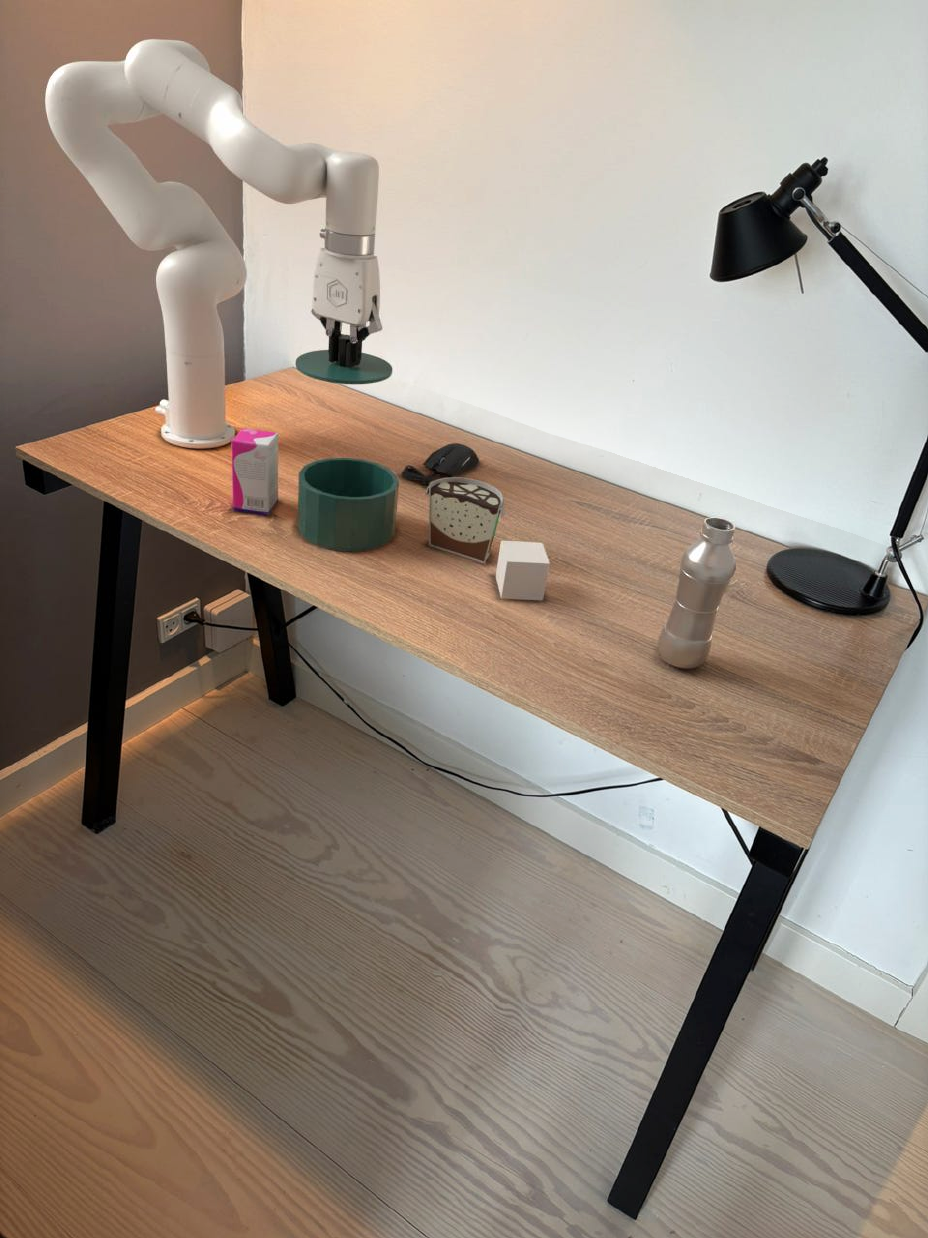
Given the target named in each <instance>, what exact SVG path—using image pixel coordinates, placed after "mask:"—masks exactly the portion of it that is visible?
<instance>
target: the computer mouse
mask: <svg viewBox="0 0 928 1238" xmlns="http://www.w3.org/2000/svg"><path fill="white" fill-rule="evenodd" d="M479 463H480V458H479V456H478V454H477V453H476V452H475V450H473V449H472V448H471V447H469V446H468V445H465V444H463V443H458V442H453V443H448V444H446V445H444V446H441V447H440V448H438V449H436V450H434V451H433V452H432V453H431V454H430V455H429V456H428V457H427V458H426V459H425V461H424V462H423V466H424V467H425V468H426V469H427V470H429V471H430V472H431V474H430V475H429V474H428V475H426V474H425V473H423V472H422V471H420V470H419V469H417V468H416V467H414V466H412V465H406V466H405V467H404V468H403V470H402V471H401V477H403V479H405V480H408V481H412V482H416V483H423V484H424V485H425V486H426V487H428V486H429V484H430V483H431V482H432V481H435V480H438V478H436V476H442V477H444V478H450V477H457V475H460V474H461V473H464V472H468V471H471V470H473V469H474V468H476V467H477V466H478V465H479Z"/></svg>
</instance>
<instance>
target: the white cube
mask: <svg viewBox="0 0 928 1238" xmlns="http://www.w3.org/2000/svg"><path fill="white" fill-rule="evenodd" d="M498 552H499V553H498V559H497V565H496V570H495V571H496V572H495V580H496V584H497V588H498V592H499V595H500V599H501V600H522V601H523V600H524V601H544V596H545V592H546V585H547V581H548V575H549V569H550V564H551V563H550V560H549V558H548V555H547V552H546V549H545V547H544V544H543V542H538V541H537V542H536V541H535V542H534V541H520V540H519V541H516V540H500V546H499V551H498Z"/></svg>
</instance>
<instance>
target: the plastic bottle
mask: <svg viewBox="0 0 928 1238" xmlns="http://www.w3.org/2000/svg"><path fill="white" fill-rule="evenodd" d="M735 530H736V525H735V524H734V523H733V522H731V521H730V520H727V519H726V518H722V517H715V516H714V517H713V516H711V517H706V518H705V519H704V520H703V523H702V527H701V529H700V532H699V537H700V538H699V539H697V540H696V541H694V542H693V543H692V544H690V546H689V547H687V548H686V550H685V551H684V553H683V554H682V556H681V562H680V567H679V568H680V570H679V578H678V584H677V589H676V595H675V597H674V598H675V599H674V602H673V605H672V607H671V609H670V612H669V615H668V618H667V620H666V622H665V624H664V626H663V627H662V629H661V631H660V634H659V635H658V641H657V651H658V654H659V656H660V658H661V660H663V661H664V662H665V663H667V664H668V665H670V666H672V667H675V668H680V669H686V670H687V669H695V668H697V667H699V666H700V665H702V664H703V663H705V661H706V660H707V658H708V656H709V654H710V652H711V648H712V641H713V630H714V625H715V622H716V617H717V613H718V609H719V608H720V605H721V602H722V600H723V597H724V594H725V593H726V591H727V589H728V587H729V585H730V583H731V581H732V579H733V577H734V574H735V573H736V570H737V560H736V557H735V554H734V552H733V550H732V548H731V545H730V544H731V543H733V540H734V534H735Z"/></svg>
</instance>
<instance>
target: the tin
mask: <svg viewBox="0 0 928 1238" xmlns="http://www.w3.org/2000/svg"><path fill="white" fill-rule="evenodd" d="M399 488H400V480H399V478H398V475H397V474H396V473H395V472H393V470H391V468H388V467H387V466H384V465H382V464H380V463H377V462H375V461H370V460H366V459H362V458H352V457H329V458H324V459H323V458H322V459H318V460H314V461H311V462H310V463H308V464H305V465H304V466H303V467H302V468H301V470H299V472H298V487H297V490H298V491H297V530H298V532H299V534H300V535H301V537H302V538H304V539H305V540H306V541H308V542H310V543H311V544H313V545H315V546H318V547H320V548H324V549H327V550H332V551H339V552H365V551H370V550H374V549H378V548H380V547H383V546H384V545H387V544H388V543H390V541H391V540H392V539H393V537H394V535H395V531H396V524H397V514H398V513H397V512H398V511H397V510H398V503H399V501H398V500H399Z"/></svg>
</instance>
